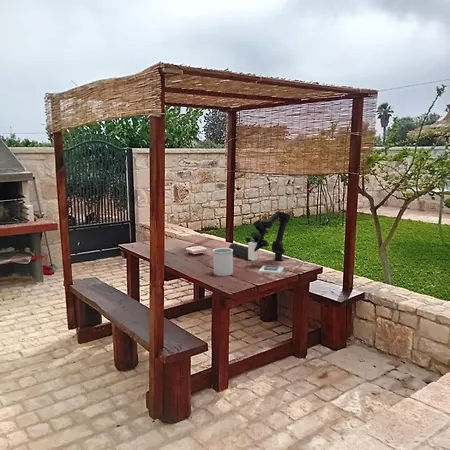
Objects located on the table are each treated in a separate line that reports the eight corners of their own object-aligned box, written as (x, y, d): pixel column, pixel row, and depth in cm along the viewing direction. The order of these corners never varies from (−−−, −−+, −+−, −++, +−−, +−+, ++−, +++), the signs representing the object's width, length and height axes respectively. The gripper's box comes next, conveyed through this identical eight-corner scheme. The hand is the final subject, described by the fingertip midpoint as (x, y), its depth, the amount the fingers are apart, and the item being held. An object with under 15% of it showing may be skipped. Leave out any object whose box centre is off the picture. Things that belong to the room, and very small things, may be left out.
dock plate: (263, 267, 329) (263, 263, 329) (283, 268, 325) (283, 264, 325) (258, 272, 314) (258, 268, 314) (280, 273, 310) (280, 270, 309)
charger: (252, 258, 330) (252, 241, 327) (257, 259, 326) (257, 242, 324) (248, 259, 326) (248, 242, 324) (253, 260, 323) (253, 243, 320)
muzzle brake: (246, 261, 349) (246, 248, 347) (227, 255, 372) (227, 243, 371) (255, 259, 354) (255, 247, 352) (236, 253, 377) (236, 242, 376)
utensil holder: (215, 277, 303) (215, 252, 300) (210, 271, 317) (210, 248, 314) (235, 275, 307) (235, 251, 304) (229, 270, 321) (229, 247, 318)
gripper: (246, 226, 331) (237, 243, 325) (266, 229, 319) (256, 246, 313) (253, 235, 338) (244, 251, 332) (272, 238, 326) (263, 255, 320)
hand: (251, 250), depth 324 cm, fingers closed on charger, 5 cm apart
